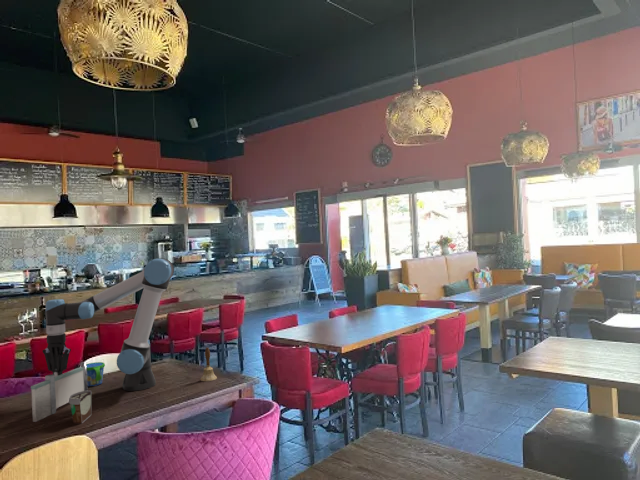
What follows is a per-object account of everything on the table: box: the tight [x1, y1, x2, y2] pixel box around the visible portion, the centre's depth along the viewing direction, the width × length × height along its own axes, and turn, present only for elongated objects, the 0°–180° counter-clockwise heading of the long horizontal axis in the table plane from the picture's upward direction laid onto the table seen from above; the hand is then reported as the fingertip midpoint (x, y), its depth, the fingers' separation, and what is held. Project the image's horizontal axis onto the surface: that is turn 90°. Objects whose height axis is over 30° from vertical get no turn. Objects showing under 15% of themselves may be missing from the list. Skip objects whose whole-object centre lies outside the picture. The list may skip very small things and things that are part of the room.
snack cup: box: [86, 361, 106, 387], centre depth 241 cm, size 16×10×10 cm
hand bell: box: [199, 347, 218, 382], centre depth 239 cm, size 8×8×16 cm
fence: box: [30, 361, 89, 423], centre depth 206 cm, size 2×32×16 cm, turn 170°
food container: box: [68, 390, 93, 425], centre depth 190 cm, size 12×6×10 cm, turn 5°
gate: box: [55, 366, 84, 409], centre depth 210 cm, size 2×18×13 cm, turn 170°
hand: (58, 386), depth 214 cm, fingers closed
